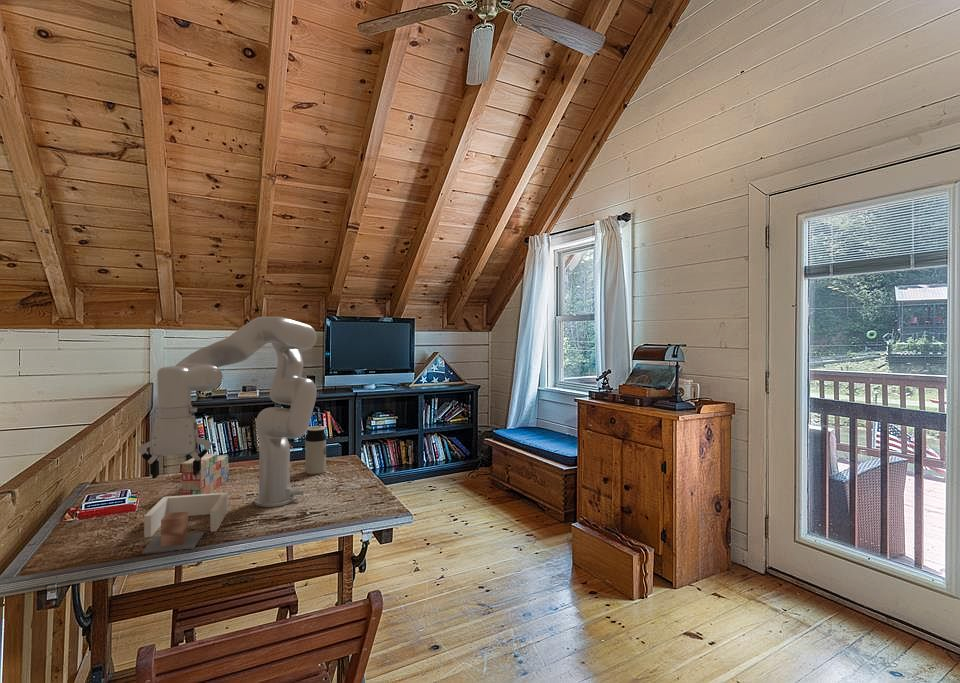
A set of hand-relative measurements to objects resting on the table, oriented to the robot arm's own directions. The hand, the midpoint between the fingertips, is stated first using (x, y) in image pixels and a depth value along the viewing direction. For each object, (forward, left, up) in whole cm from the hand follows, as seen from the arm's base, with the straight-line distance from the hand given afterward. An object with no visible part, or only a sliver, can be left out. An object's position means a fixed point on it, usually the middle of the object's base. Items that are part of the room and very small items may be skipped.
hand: (176, 475), depth 133 cm
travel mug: (-34, -60, -19) cm, 71 cm away
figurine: (-22, -64, -19) cm, 70 cm away
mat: (0, 0, -18) cm, 18 cm away
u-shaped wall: (0, -14, -18) cm, 23 cm away
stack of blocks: (+3, -48, -19) cm, 51 cm away
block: (0, 0, -18) cm, 18 cm away
